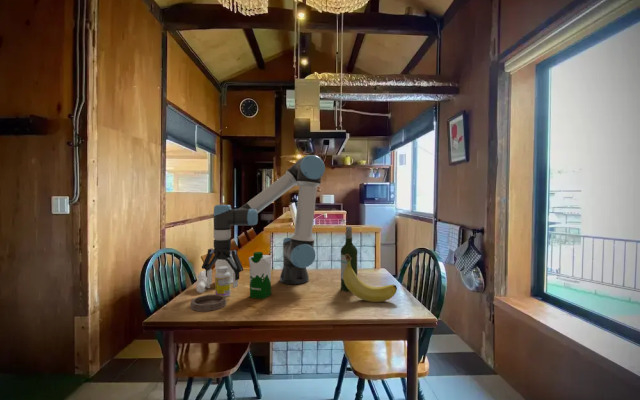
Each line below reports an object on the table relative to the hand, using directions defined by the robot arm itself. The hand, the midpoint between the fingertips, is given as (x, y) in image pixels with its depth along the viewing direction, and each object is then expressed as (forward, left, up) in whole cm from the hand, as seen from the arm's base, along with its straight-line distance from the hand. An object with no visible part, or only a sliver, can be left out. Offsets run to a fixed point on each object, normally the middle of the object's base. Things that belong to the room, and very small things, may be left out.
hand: (222, 285), depth 146 cm
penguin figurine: (+14, -4, -5) cm, 15 cm away
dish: (-2, +13, -5) cm, 14 cm away
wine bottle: (-53, -25, -5) cm, 59 cm away
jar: (+11, -19, -5) cm, 22 cm away
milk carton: (-17, -4, -5) cm, 18 cm away
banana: (-65, -11, -5) cm, 66 cm away
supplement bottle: (0, 0, -5) cm, 5 cm away
